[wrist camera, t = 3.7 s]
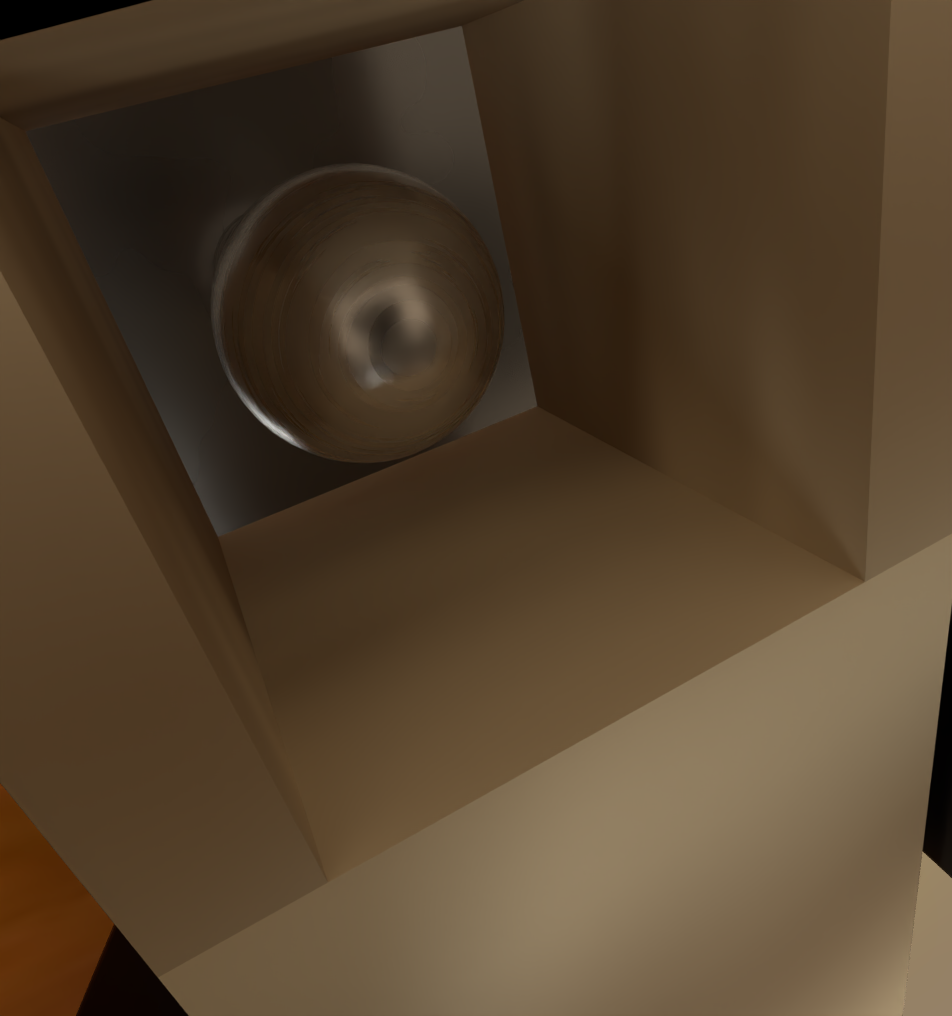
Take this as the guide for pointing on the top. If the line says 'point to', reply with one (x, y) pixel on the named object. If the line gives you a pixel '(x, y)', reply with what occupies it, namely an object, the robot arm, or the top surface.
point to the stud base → (218, 163)
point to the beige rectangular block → (518, 541)
